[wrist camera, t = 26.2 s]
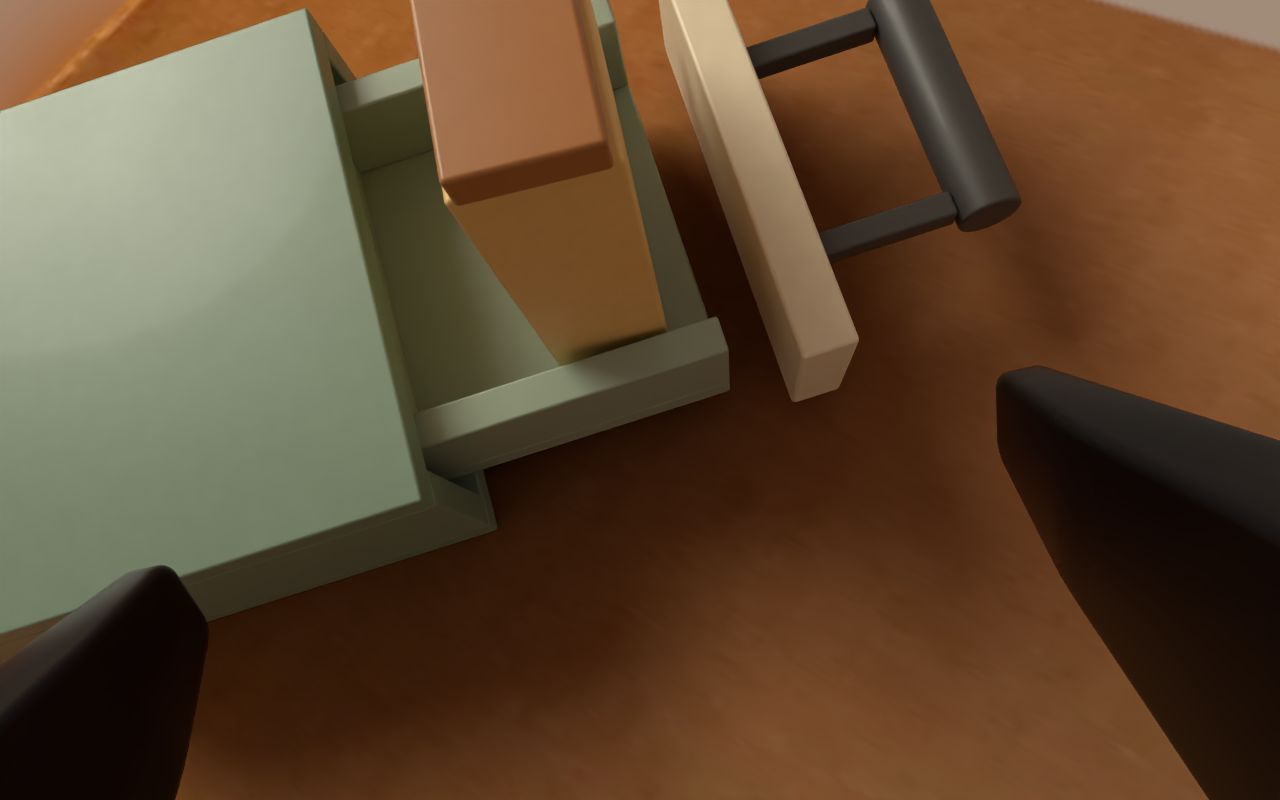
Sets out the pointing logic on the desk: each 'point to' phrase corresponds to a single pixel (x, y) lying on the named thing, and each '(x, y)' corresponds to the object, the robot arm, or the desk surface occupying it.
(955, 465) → the desk surface
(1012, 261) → the desk surface
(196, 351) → the cabinet
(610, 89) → the tan flat block
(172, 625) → the robot arm
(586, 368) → the drawer
